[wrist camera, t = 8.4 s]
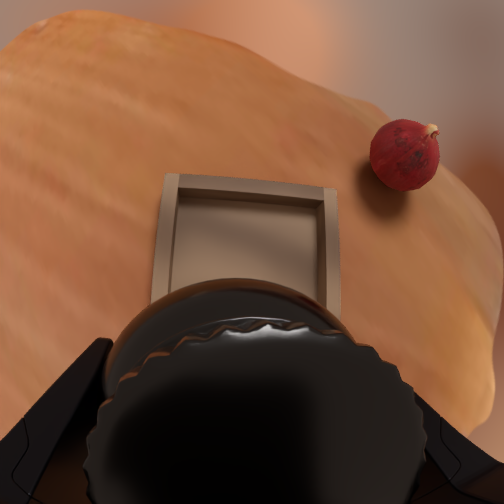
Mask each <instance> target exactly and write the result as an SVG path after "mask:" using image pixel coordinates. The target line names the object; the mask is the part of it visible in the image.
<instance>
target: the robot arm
mask: <svg viewBox="0 0 504 504" xmlns="http://www.w3.org/2000/svg"><path fill="white" fill-rule="evenodd" d="M112 346H113V341H112V340H111V339H109V338H101V337H99V338H97V339H96V340H95V341H94V342H93V343H92V344H91V345H90V346H89V347H88V348H87V349H86V350H85V351H84V352H83V353H82V354H81V355H80V356H79V357H78V358H77V359H76V360H75V361H74V362H73V363H72V364H71V365H70V366H69V368H68V369H67V370H66V371H65V372H64V373H63V374H62V375H61V376H60V377H59V378H58V379H57V380H56V381H55V382H54V383H53V384H52V386H51V387H50V388H49V389H48V390H47V391H46V392H45V393H44V394H43V395H42V396H41V397H40V398H39V400H38V401H37V402H36V403H35V404H34V405H33V406H32V407H31V408H30V409H29V411H28V412H27V413H26V414H25V415H24V418H21V419H20V420H19V422H18V423H17V424H16V425H15V426H14V427H13V428H12V429H11V430H10V431H9V433H8V434H7V435H6V436H5V437H4V438H3V439H2V440H1V441H0V504H92V503H91V502H90V500H89V499H88V497H87V495H86V489H87V486H88V481H87V478H86V476H85V474H84V470H83V467H82V466H83V463H84V461H85V459H86V457H87V455H88V448H87V441H86V437H87V434H88V433H89V431H90V430H91V429H92V428H93V427H94V426H95V425H96V424H97V415H98V412H97V394H98V386H99V380H100V376H101V373H102V369H103V366H104V363H105V361H106V359H107V356H108V354H109V352H110V350H111V348H112ZM414 395H415V402H416V404H417V405H418V406H419V407H420V408H421V409H422V410H423V428H424V430H425V431H426V434H427V436H428V437H427V442H426V445H425V449H424V452H425V456H426V463H425V466H424V468H423V470H422V472H421V474H420V486H419V488H418V489H417V491H416V492H415V494H414V495H413V497H412V499H411V503H410V504H504V463H502V462H499V461H497V460H495V459H494V458H492V457H491V456H489V455H488V454H487V453H485V452H484V451H483V450H481V449H480V448H479V447H477V446H476V445H475V444H473V443H472V442H471V441H469V440H468V439H467V438H466V437H464V436H463V435H462V434H461V433H459V432H458V431H457V430H456V429H455V428H454V427H453V426H451V425H450V424H449V423H448V422H447V421H446V420H445V419H444V418H443V417H440V415H439V414H438V413H437V412H436V411H435V410H434V409H433V408H432V407H431V406H430V405H428V404H427V403H426V402H425V401H424V400H423V399H422V398H421V397H420V396H419V395H418V394H417V393H415V392H414Z"/></svg>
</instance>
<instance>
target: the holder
mask: <svg viewBox="0 0 504 504" xmlns="http://www.w3.org/2000/svg"><path fill="white" fill-rule="evenodd" d="M221 278H251V279H258V280H265V281H269V282H273V283H277V284H280V285H283V286H286V287H289V288H292V289H294V290H296V291H298V292H301V293H303V294H305V295H306V296H308V297H310V298H312V299H313V300H315V301H317V302H318V303H319V304H321V305H322V306H324V307H325V308H326V309H328V310H329V311H330V312H331V313H332V314H333V315H334V316H335V317H337V318H338V320H339V321H340V314H341V289H340V245H339V222H338V205H337V191H336V189H332V188H324V187H317V186H309V185H301V184H293V183H284V182H275V181H265V180H255V179H244V178H233V177H221V176H207V175H192V174H174V173H165V177H164V184H163V190H162V197H161V205H160V212H159V220H158V228H157V237H156V246H155V256H154V267H153V279H152V292H151V304H152V303H153V302H155V301H157V300H158V299H160V298H162V297H163V296H165V295H167V294H169V293H171V292H173V291H175V290H178V289H180V288H183V287H186V286H188V285H191V284H195V283H199V282H203V281H207V280H214V279H221Z"/></svg>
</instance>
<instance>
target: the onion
mask: <svg viewBox="0 0 504 504" xmlns="http://www.w3.org/2000/svg"><path fill="white" fill-rule="evenodd" d="M437 135H439V130H438V127H437V126H436V125H432V124H428V125H427V126H424V125H422V124H420V123H418V122H415V121H411V120H406V119H399V120H395V121H392V122H390V123H387V124H385V125H384V126H382V127H381V128H380V129H379V130H378V132H377V133H376V135H375V136H374V138H373V140H372V142H371V147H370V161H371V165H372V169H373V170H374V172H375V174H376V175H377V177H378V179H380V180H381V181H382V182H383V183H384V184H385V185H386V186H387V187H390V188H393V189H396V190H399V191H409V190H415V189H419V188H421V187H422V186H423V185H425V184H426V183H427V182H428V181H430V180H431V179H432V178H433V176H434V175H435V173H436V170H437V167H438V163H439V157H440V155H439V147H438V142H437V140H436V136H437Z"/></svg>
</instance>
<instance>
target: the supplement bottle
mask: <svg viewBox="0 0 504 504" xmlns="http://www.w3.org/2000/svg"><path fill="white" fill-rule="evenodd" d="M97 412H98V415H97V424H96V425H95V426H94V427H93V428H92V429H91V430H90V431H89V433H88V434H87V437H86V441H87V448H88V455H87V457H86V459H85V461H84V463H83V466H82V467H83V470H84V474H85V476H86V478H87V481H88V486H87V489H86V495H87V497H88V499H89V500H90V502H91V503H92V504H410V503H411V499H412V497H413V495H414V494H415V492H416V491H417V489H418V488H419V486H420V474H421V472H422V470H423V468H424V466H425V463H426V456H425V452H424V449H425V445H426V442H427V437H428V436H427V434H426V431H425V430H424V428H423V410H422V409H421V408H420V407H419V406H418V405H417V404H416V402H415V395H414V390H413V387H411V386H410V385H409V384H407V383H405V382H403V381H402V379H401V377H400V373H399V371H398V369H397V366H396V365H394V364H392V363H389V362H387V361H384V360H381V358H380V357H379V355H378V353H377V352H376V351H375V349H374V348H373V347H372V346H370V345H367V344H361V343H356V342H355V340H354V338H353V337H352V335H351V334H350V333H349V331H348V330H347V329H346V327H345V326H344V325H343V324H342V323H341V322H340V321H339V320H338V318H337V317H335V316H334V315H333V314H332V313H331V312H330V311H329V310H328V309H326V308H325V307H324V306H322V305H321V304H319V303H318V302H317V301H315V300H313V299H312V298H310V297H308V296H306V295H305V294H303V293H301V292H298V291H296V290H294V289H292V288H289V287H286V286H283V285H280V284H277V283H273V282H269V281H265V280H258V279H251V278H221V279H214V280H207V281H203V282H199V283H195V284H191V285H188V286H186V287H183V288H180V289H178V290H175V291H173V292H171V293H169V294H167V295H165V296H163V297H162V298H160V299H158V300H157V301H155V302H153V303H152V304H151V305H149V306H148V307H146V308H145V309H144V310H142V311H141V312H140V313H139V314H138V315H137V316H136V317H135V318H134V319H133V320H132V321H131V322H130V323H129V324H128V325H127V326H126V327H125V329H124V330H123V331H122V332H121V334H120V335H119V337H118V338H117V340H116V341H115V343H114V344H113V346H112V348H111V350H110V352H109V354H108V356H107V359H106V361H105V363H104V366H103V369H102V373H101V376H100V380H99V386H98V394H97Z"/></svg>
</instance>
